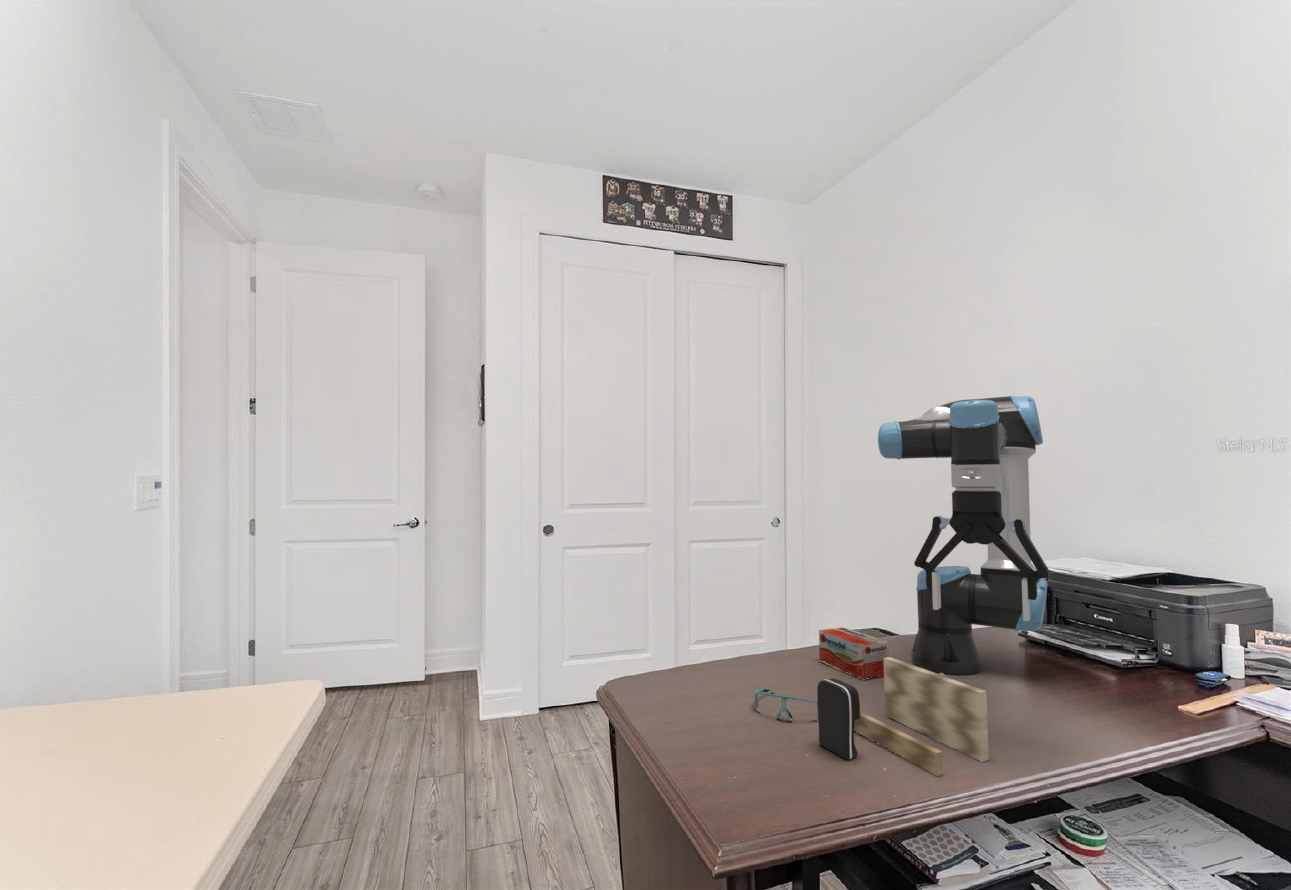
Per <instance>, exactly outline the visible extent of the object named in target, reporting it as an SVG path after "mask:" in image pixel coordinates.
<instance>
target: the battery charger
mask: <svg viewBox="0 0 1291 890" xmlns="http://www.w3.org/2000/svg"><path fill="white" fill-rule="evenodd" d="M816 689H817V690H816V694H817V695H816V696H817V700H816V702H817V703H816V705H817V704H818V707H817V716H818V717H817V718H818V744H819V743H820V744H821V745H820V744H819V745H820V746H822V745H823V746H824V747H823V746H822V747H823V748H825V747H826V748H828V749H830V750H831V751H833V752H834V753H833V752H832V753H833V754H835V753H836V754H835V755H837V754H838V755H837V756H839V755H840V756H839V757H841V758H843V759H845V760H852V759H853V758H855V757H857V755H858V750H857V747H856V745H855V732H854V725H855V720H857V719H859V718H860V712H861V705H860V704H861V703H860V695H859V692H858V689H857V688H856V687H855V686H853V685H851V684H849V683H847V682H845V681H842V680H840V679H837V678H829V679H828V678H827V679H822V680H820V681H819V682H818V684H817V688H816ZM826 748H825V749H826ZM828 749H827V750H828ZM830 750H829V751H830ZM831 751H830V752H831Z"/></svg>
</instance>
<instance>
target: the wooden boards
mask: <svg viewBox="0 0 1291 890" xmlns="http://www.w3.org/2000/svg"><path fill="white" fill-rule="evenodd" d="M883 681H884V682H883V683H884V686H883V688H884V689H883V690H884V716H887V717H889V718H892V719H894V720H896V721H897V722H896V721H895V722H896V723H898V722H899V723H898V724H900V723H902V724H904V725H906V726H908V727H907V728H909V727H910V728H909V729H911V728H913V729H914V730H913V729H912V730H913V731H915V730H917V731H918V732H917V731H916V732H917V733H919V734H921V733H923V734H925V735H927V736H926V737H928V738H930V739H932V738H933V739H932V740H934V739H935V740H934V741H936V740H937V741H936V742H939V743H940V742H941V743H940V744H942V743H944V744H943V745H945V744H946V745H945V746H947V745H948V746H947V747H949V748H951V749H953V748H954V749H953V750H955V749H956V750H955V751H957V750H958V751H957V752H960V753H961V754H964V755H966V756H968V757H970V758H972V759H975V760H976V759H977V761H978V760H979V761H978V762H981V763H984V762H987V761H989V759H990V756H989V755H990V754H989V753H990V751H989V731H988V730H989V727H988V699H987V696H988V695H987V690H984V689H981V688H978V687H976V686H973V685H970V684H967V683H965V682H962V681H959V680H956V679H953V678H950V677H947V676H946V675H945V676H942V675H939V673H937V672H935V671H930V670H927V669H924V668H921V667H919V666H917V665H915V664H911V663H907V662H905V661H902V660H900V659H896V658H893V657H890V656H889V657H887V658H884V676H883ZM887 717H886V718H887ZM889 718H888V719H889ZM892 719H891V720H892ZM894 720H893V721H894ZM902 724H901V725H902ZM904 725H903V726H904ZM906 726H905V727H906ZM854 730H855V731H856V732H858V733H860V734H862V735H864V736H865V737H867V738H870V739H871V740H873V741H874V742H876V743H879V744H880V745H882V746H884V747H885V748H888V749H889V750H891V751H892V752H891V751H890V752H891V753H893V752H894V753H893V754H895V755H896V754H898V755H900V756H901V758H902V757H903V758H902V759H904V758H905V759H904V760H906V759H907V760H906V761H908V760H909V761H908V762H910V763H911V762H912V764H914V765H915V764H916V765H915V766H917V765H918V766H917V767H919V766H920V767H919V768H921V767H922V768H921V769H923V770H925V769H926V770H928V771H929V773H930V774H932V775H934V776H936V777H940V776H942V774H944V768H943V767H944V766H943V751H942V750H940V749H938V748H936V747H934V746H931V745H929V744H928V743H925V742H923V741H921V740H920V739H917V738H916V737H913V736H911V735H909V734H907V733H905V732H902V731H901V730H899V729H897V728H895V727H893V726H890V725H888V724H886V723H884V722H882V721H880V720H878V719H876V718H874V717H872V716H870V715H868V714H866V713H864V712H861V711H860V718H859V719H857V720H855V725H854ZM923 734H922V735H923ZM925 735H924V736H925ZM865 737H864V738H865ZM867 738H866V739H867ZM874 742H873V743H874ZM876 743H875V744H876ZM880 745H879V746H880ZM882 746H881V747H882ZM885 748H884V749H885ZM889 750H888V751H889ZM898 755H897V756H898ZM900 756H899V757H900ZM926 770H925V771H926ZM928 771H927V772H928Z"/></svg>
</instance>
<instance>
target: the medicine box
mask: <svg viewBox="0 0 1291 890" xmlns="http://www.w3.org/2000/svg"><path fill="white" fill-rule="evenodd" d="M889 650H890V647H889V642H888V641H887V640H884V639H880V638H877V637H875V636H872V635H868V634H865V633H862V632H859V631H855V630H852V629H849V628H847V627H844V626H840V627H835V628H834V627H833V628H827V629H820V630H818V651H819V652H818V653H819V661H820V660H821V661H825V662H826V663H828V664H830V665H832V666H835V667H837V668H839V669H840V670H842V671H844V672H848V673H851V674H852V675H854V676H856V677H860V678H862V679H866V678H871V677H873V678H879V677H878V676H882V677H884V676H883V675H884V658H887V657H890V651H889ZM842 671H841V672H842ZM844 672H843V673H844ZM856 677H855V678H856Z"/></svg>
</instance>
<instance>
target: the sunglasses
mask: <svg viewBox="0 0 1291 890" xmlns="http://www.w3.org/2000/svg"><path fill="white" fill-rule="evenodd" d="M770 690H771V689H769V688H761V689H758V690H757V691H755V692H754V696H753V697H754V706H755V709H756V708H757V707H758V708H759V706H758V695H760V696H764V695H765V696H766V697H767V696H771V697H775V698H780V699H781V708H780V709H779V712H778V713H777V715H776V717H779V718H780V717H781V715H782V714H781V713H782V712H783V713H785V715H786V716H787V718H788V720H789V719H791V718H792V719H793V716H792V713H791V712H790V711H789V710H788V709H787V700H794V701H800V702H807V703H813V704H816V705H817V708H818V704H817V701H815V700H814V701H813V700H809V699H808V698H801V697H793V696H787V695H781V694H776V693H773V694H771V693H767V692H768V691H770ZM816 718H818V715H817V717H816Z"/></svg>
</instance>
